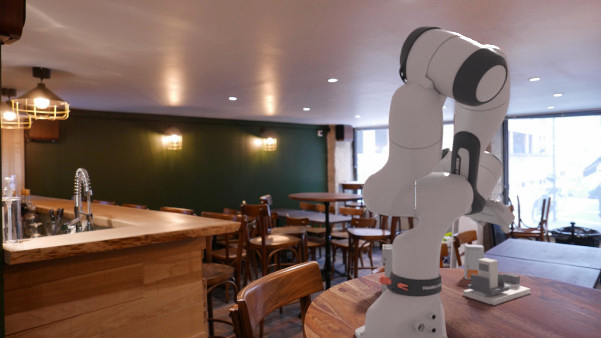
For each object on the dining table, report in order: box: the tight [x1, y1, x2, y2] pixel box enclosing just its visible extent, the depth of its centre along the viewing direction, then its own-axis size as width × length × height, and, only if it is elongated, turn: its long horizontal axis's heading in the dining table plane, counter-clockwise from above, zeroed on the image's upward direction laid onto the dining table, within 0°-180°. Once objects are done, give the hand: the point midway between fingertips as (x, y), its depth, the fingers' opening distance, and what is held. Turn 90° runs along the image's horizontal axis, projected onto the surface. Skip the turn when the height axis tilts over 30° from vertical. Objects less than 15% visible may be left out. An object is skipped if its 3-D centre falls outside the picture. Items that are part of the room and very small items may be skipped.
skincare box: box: [463, 243, 485, 281], centre depth 137 cm, size 6×4×12 cm
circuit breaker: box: [381, 243, 393, 295], centre depth 120 cm, size 8×14×15 cm, turn 78°
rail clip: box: [466, 272, 521, 297], centre depth 121 cm, size 20×8×6 cm, turn 122°
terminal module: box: [478, 257, 499, 289], centre depth 118 cm, size 4×4×8 cm
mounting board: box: [462, 285, 531, 306], centre depth 121 cm, size 20×10×2 cm, turn 122°
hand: (494, 227), depth 115 cm, fingers open, 8 cm apart
